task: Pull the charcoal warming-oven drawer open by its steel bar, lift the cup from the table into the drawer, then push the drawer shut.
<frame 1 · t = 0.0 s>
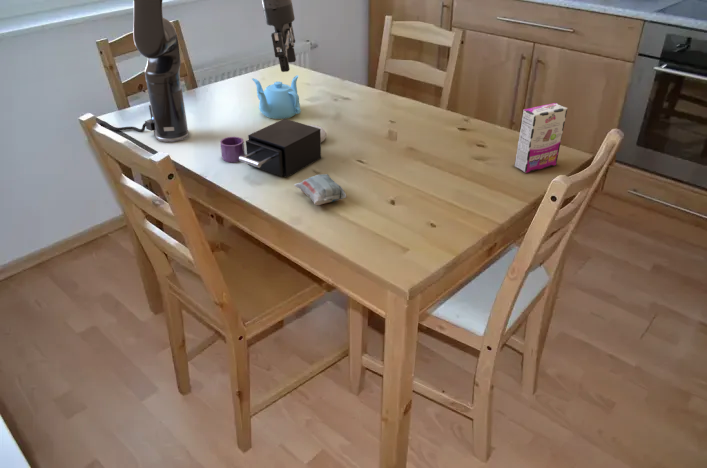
hand: (288, 66, 158), 22 cm above the table, tool pointing down, fingers open, 8 cm apart
drawer: (273, 153, 154), point 4 cm above the table, slide at 0.5 cm
cabinet: (286, 161, 159), on the table
teapot: (277, 113, 190), on the table
donut: (309, 140, 172), on the table
cup: (233, 158, 161), on the table
candy bar box: (534, 166, 159), on the table
packaged food: (319, 199, 142), on the table
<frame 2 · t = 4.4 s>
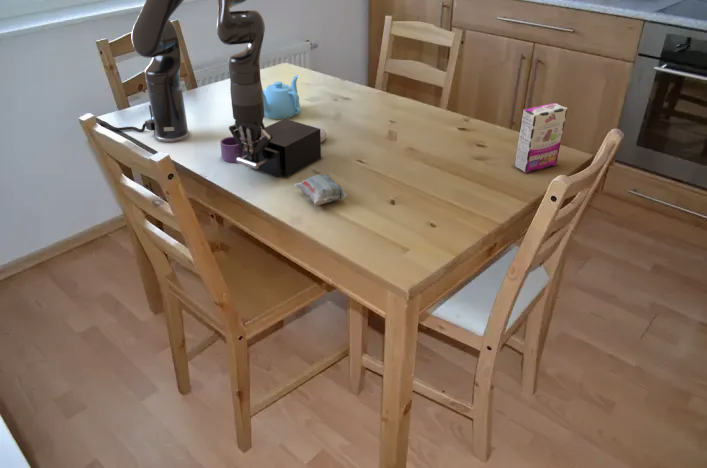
hand: (253, 164, 148), 4 cm above the table, tool pointing down, fingers closed
drawer: (271, 154, 153), point 4 cm above the table, slide at 1.4 cm
everything else where it was.
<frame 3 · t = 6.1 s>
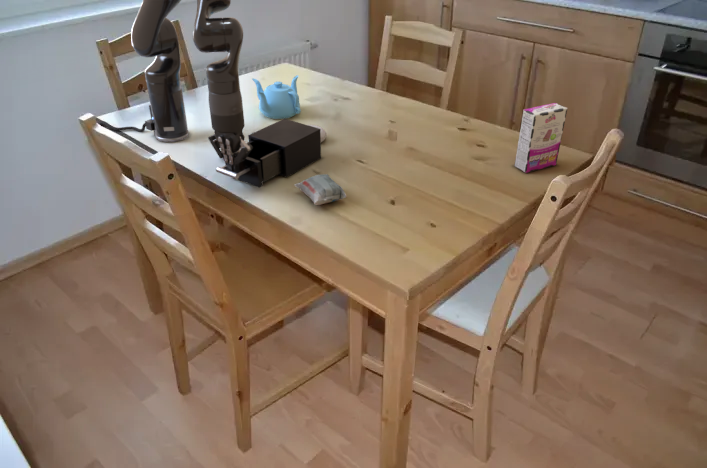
hand: (233, 175, 144), 4 cm above the table, tool pointing down, fingers closed
drawer: (252, 163, 148), point 4 cm above the table, slide at 8.3 cm, touching gripper
everything else where it was.
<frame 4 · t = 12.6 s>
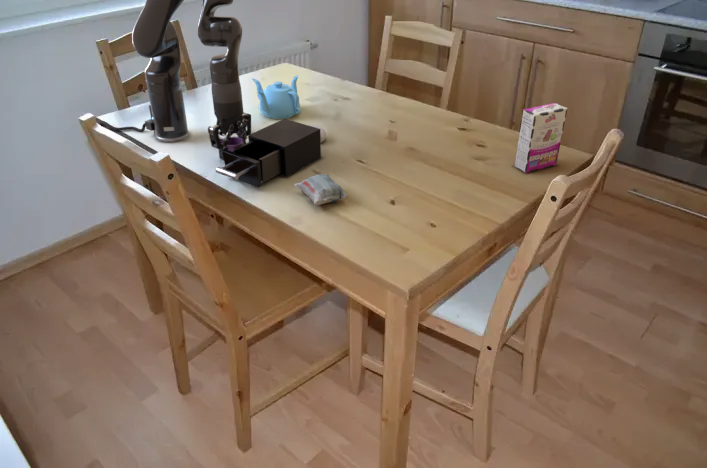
hand: (233, 155, 160), 1 cm above the table, tool pointing down, fingers closed on cup, 6 cm apart
drawer: (252, 163, 148), point 4 cm above the table, slide at 8.5 cm
cup: (233, 158, 161), on the table, touching gripper
everything else where it was.
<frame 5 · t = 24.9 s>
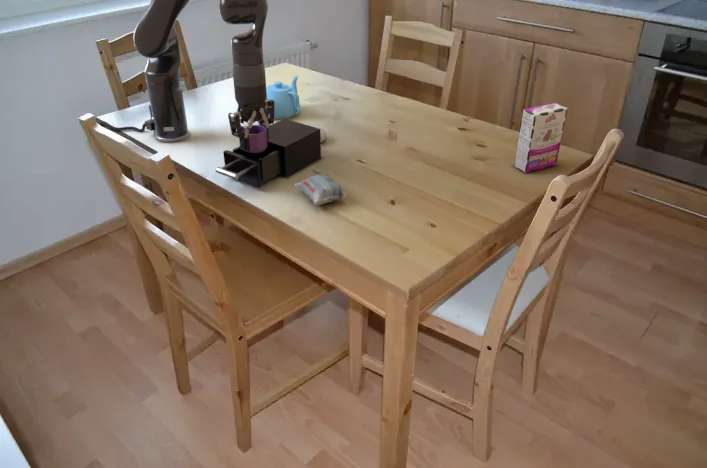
hand: (255, 145, 147), 9 cm above the table, tool pointing down, fingers closed on cup, 6 cm apart
cup: (255, 148, 147), point 8 cm above the table, touching gripper
everything else where it was.
when the fingers open (10 cm above the table, at t = 29.3 s): cup drops 7 cm, resting on drawer.
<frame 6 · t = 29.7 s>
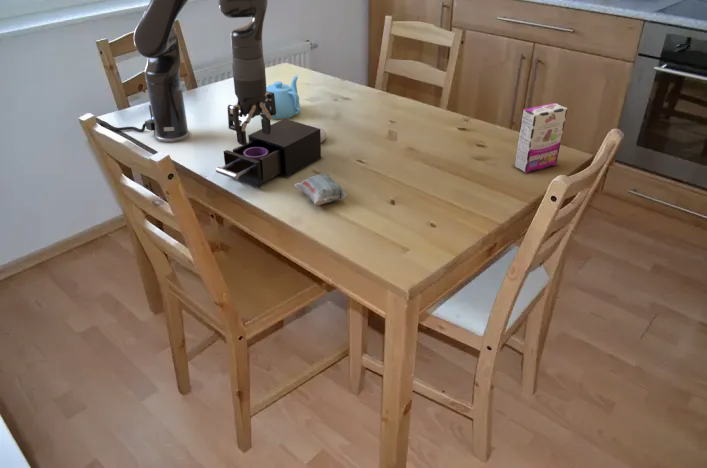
hand: (254, 138, 146), 11 cm above the table, tool pointing down, fingers open, 8 cm apart
drawer: (252, 163, 148), point 4 cm above the table, slide at 8.5 cm, touching cup
cup: (257, 169, 150), point 2 cm above the table, touching drawer
everything else where it was.
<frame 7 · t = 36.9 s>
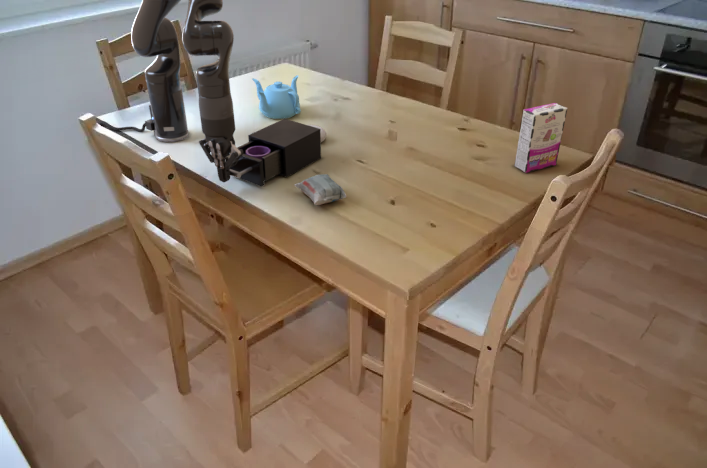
hand: (224, 180, 142), 4 cm above the table, tool pointing down, fingers closed
drawer: (254, 162, 149), point 4 cm above the table, slide at 7.6 cm, touching cup, gripper
everything else where it was.
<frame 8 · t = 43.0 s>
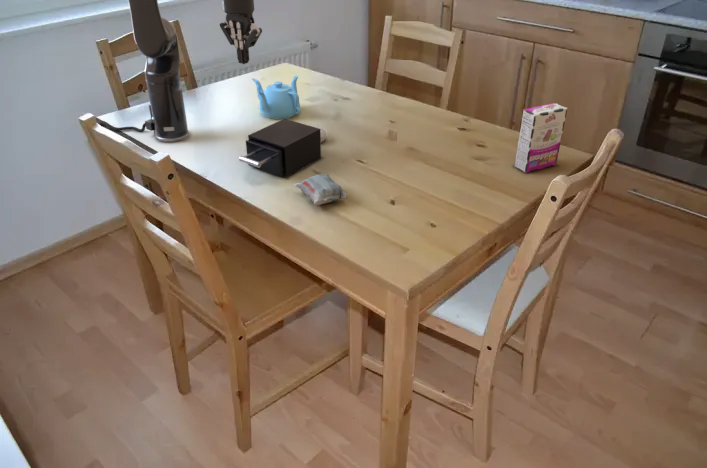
hand: (243, 62, 151), 25 cm above the table, tool pointing down, fingers closed
drawer: (273, 153, 154), point 4 cm above the table, slide at 0.5 cm, touching cup
cup: (277, 159, 156), point 2 cm above the table, touching drawer
everything else where it was.
at the end: drawer pulled out 8.5 cm at the most during the clip, back to 0.5 cm at the end; cup inside the target area in the cabinet (3.4 cm from its centre), point 2.0 cm above the cabinet's base; drawer slide at 0.5 cm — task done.
